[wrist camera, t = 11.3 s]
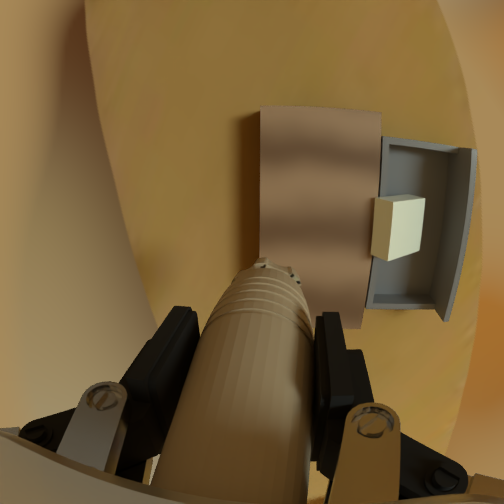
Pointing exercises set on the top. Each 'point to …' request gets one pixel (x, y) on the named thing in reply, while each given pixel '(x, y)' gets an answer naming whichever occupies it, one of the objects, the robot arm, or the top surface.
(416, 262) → the box
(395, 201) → the tile
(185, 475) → the handle
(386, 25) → the top surface
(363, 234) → the board
